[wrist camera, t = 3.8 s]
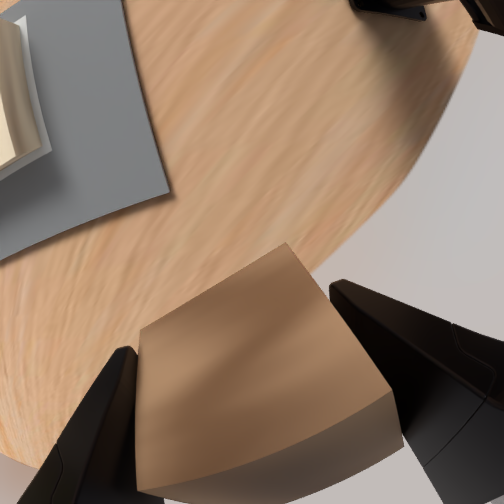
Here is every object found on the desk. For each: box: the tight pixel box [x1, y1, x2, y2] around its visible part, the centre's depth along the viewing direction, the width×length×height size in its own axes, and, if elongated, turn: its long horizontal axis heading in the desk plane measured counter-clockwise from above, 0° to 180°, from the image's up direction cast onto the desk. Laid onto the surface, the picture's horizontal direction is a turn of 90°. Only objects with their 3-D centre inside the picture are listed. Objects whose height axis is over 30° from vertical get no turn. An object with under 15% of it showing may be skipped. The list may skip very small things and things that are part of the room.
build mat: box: [0, 0, 170, 260], centre depth 10 cm, size 16×15×1 cm
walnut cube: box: [135, 242, 404, 504], centre depth 7 cm, size 5×5×5 cm
